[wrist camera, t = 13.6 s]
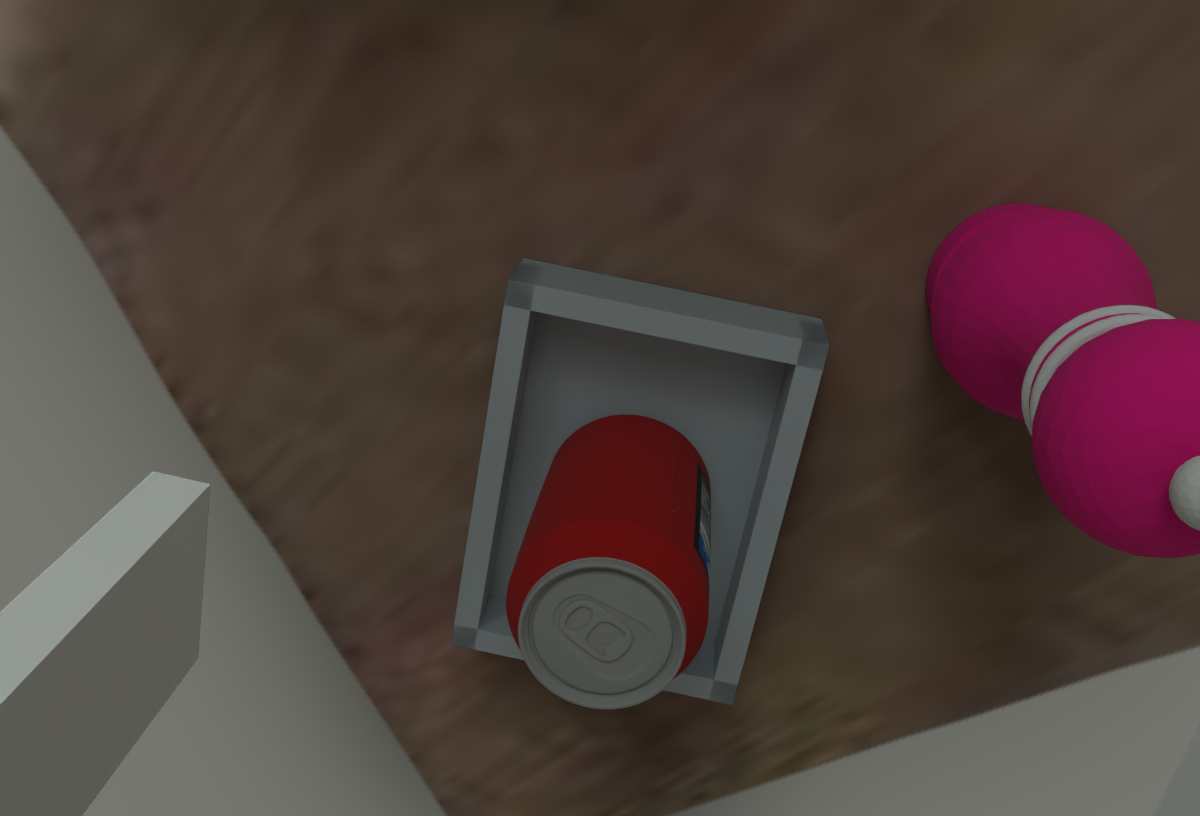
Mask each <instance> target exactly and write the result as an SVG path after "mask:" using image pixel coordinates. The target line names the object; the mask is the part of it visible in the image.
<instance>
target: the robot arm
mask: <svg viewBox="0 0 1200 816" xmlns="http://www.w3.org/2000/svg"><path fill="white" fill-rule="evenodd" d="M209 497H210V484H207V483H203V482H198V481H194V480H189V479H185V478H181V477H176V476H172V475H167V474H163V473H159V472H154V471H153V472H152V473H151V474H149V475H148V476H147V477H146V478H145V479H144V480H143V481H142V482H141V483H140V484H139V485H137V486H136V487H135V488H134V489H133V490H132V491H131V492H130V493H129V494H128V495H127V496H125V497H124V498H123V499H122V500H121V501H120V502H119V503H118V504H117V505H116V506H115V507H113V509H111V510H110V511H109V512H108V513H107V514H106V515H105V516H104V517H103V518H101V519H100V520H99V521H98V522H97V523H96V524H95V525H94V526H93V527H92V528H91V529H90V530H89V531H87V532H86V533H85V534H84V535H83V536H82V537H81V538H80V539H79V540H78V541H76V542H75V543H74V544H73V545H72V546H71V547H70V548H69V549H68V550H67V551H66V552H65V553H63V554H62V555H61V556H60V557H59V558H58V559H57V560H56V561H55V562H54V563H52V564H51V565H50V566H49V567H48V568H47V569H46V570H45V571H44V572H43V573H42V574H41V575H39V576H38V577H37V578H36V579H35V580H34V581H33V582H32V583H31V584H30V585H29V586H27V587H26V588H25V589H24V590H23V591H22V592H21V593H20V594H19V595H18V596H17V597H15V598H14V599H13V600H12V601H11V602H10V603H9V604H8V605H7V606H6V607H5V608H3V610H1V611H0V816H82V815H83V813H84V812H85V811H86V809H87V808H88V807H89V805H90V804H91V803H92V801H93V800H94V798H95V797H96V796H97V794H98V793H99V792H100V790H101V789H102V788H103V786H104V785H105V784H106V782H107V781H108V780H109V778H110V777H111V775H112V774H113V773H114V771H115V770H116V769H117V767H118V766H119V764H120V763H121V762H122V761H123V759H124V758H125V756H126V755H127V754H128V752H129V751H130V750H131V748H132V747H133V746H134V744H135V743H136V742H137V740H138V739H139V737H140V736H141V735H142V733H143V732H144V731H145V729H146V728H147V727H148V725H149V724H150V723H151V721H152V720H153V718H154V717H155V715H156V714H157V713H158V712H159V710H160V709H161V708H162V706H163V705H164V704H165V702H166V701H167V699H168V698H169V697H170V695H171V694H172V692H173V691H174V690H175V689H176V687H177V686H178V685H179V683H180V682H181V680H182V679H183V678H184V676H185V675H186V674H187V672H188V671H189V670H190V668H191V667H192V666H193V664H194V663H195V661H196V660H197V659H198V653H199V639H200V624H201V609H202V596H203V582H204V568H205V554H206V540H207V525H208V510H209ZM1153 816H1200V725H1199V727H1198V729H1197V731H1196V733H1195V735H1194V737H1193V739H1192V741H1191V743H1190V745H1189V746H1188V748H1187V750H1186V752H1185V754H1184V756H1183V758H1182V760H1181V762H1180V764H1179V766H1178V768H1177V770H1176V772H1175V774H1174V776H1173V778H1172V780H1171V782H1170V784H1169V786H1168V788H1167V790H1166V792H1165V794H1164V796H1163V798H1162V800H1161V802H1160V804H1159V806H1158V808H1157V810H1156V811H1155V813H1154V815H1153Z"/></svg>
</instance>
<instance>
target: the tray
mask: <svg viewBox="0 0 1200 816" xmlns="http://www.w3.org/2000/svg"><path fill="white" fill-rule="evenodd" d="M829 346H830V344H829V341H828V338H827V334H826V331H825V328H824V325H823V321H822V319H820V318H815V317H810V316H806V315H801V314H796V313H791V312H786V311H781V310H776V309H771V308H766V307H762V306H757V305H752V304H747V303H742V302H737V301H732V300H727V299H722V298H717V297H713V296H708V295H703V294H698V293H693V292H688V291H683V290H678V289H673V288H668V287H664V286H659V285H654V284H649V283H644V282H639V281H634V280H629V279H624V278H619V277H615V276H610V275H605V274H600V273H595V272H590V271H585V270H580V269H575V268H571V267H566V266H561V265H556V264H551V263H546V262H541V261H536V260H531V259H526V258H523V260H522V261H521V262H520V264H519V265H518V266H517V268H516V269H515V270H514V272H513V273H512V275H511V276H510V277H509V279H508V283H507V289H506V296H505V302H504V308H503V315H502V321H501V328H500V334H499V340H498V347H497V353H496V360H495V366H494V372H493V379H492V385H491V392H490V398H489V404H488V411H487V417H486V424H485V430H484V436H483V443H482V449H481V456H480V462H479V468H478V475H477V481H476V488H475V494H474V500H473V507H472V513H471V520H470V526H469V532H468V539H467V545H466V552H465V558H464V564H463V571H462V577H461V583H460V590H459V596H458V603H457V609H456V615H455V622H454V628H453V635H452V641H451V645H455V646H460V647H465V648H469V649H474V650H478V651H483V652H488V653H492V654H497V655H502V656H506V657H511V658H516V659H520V660H524V658H523V655H522V653H521V651H520V649H519V647H518V646H517V644H516V642H515V640H514V637H513V635H512V633H511V630H510V626H509V623H508V619H507V612H506V593H507V587H508V583H509V580H510V576H511V573H512V570H513V567H514V564H515V562H516V559H517V556H518V553H519V550H520V547H521V544H522V541H523V538H524V535H525V532H526V530H527V527H528V524H529V521H530V518H531V516H532V513H533V510H534V508H535V505H536V502H537V499H538V497H539V494H540V491H541V489H542V486H543V484H544V481H545V478H546V476H547V473H548V471H549V468H550V466H551V463H552V461H553V458H554V456H555V454H556V453H557V451H558V449H559V448H560V446H561V445H562V444H563V442H564V441H565V440H566V439H567V438H568V437H569V436H570V435H571V434H573V433H574V432H575V431H576V430H578V429H579V428H581V427H582V426H584V425H586V424H588V423H590V422H592V421H594V420H597V419H600V418H603V417H607V416H612V415H623V414H629V415H640V416H645V417H649V418H653V419H656V420H658V421H661V422H663V423H665V424H667V425H669V426H671V427H673V428H674V429H676V430H677V431H679V432H680V433H681V434H682V435H684V436H685V437H686V438H687V439H688V440H689V441H690V442H691V443H692V445H693V446H694V447H695V448H696V450H697V451H698V452H699V454H700V456H701V457H702V459H703V461H704V463H705V466H706V468H707V471H708V475H709V479H710V488H711V557H710V590H709V614H708V625H707V631H706V635H705V638H704V640H703V643H702V645H701V647H700V649H699V651H698V653H697V655H696V656H695V658H694V659H693V660H692V662H691V663H690V664H689V665H688V666H687V668H686V669H685V670H684V671H683V672H682V673H681V674H679V675H678V676H677V677H676V678H675V679H673V680H672V681H671V682H670V683H669V684H668V685H667V686H666V687H665V688H664V689H663V690H664V691H669V692H674V693H678V694H683V695H688V696H692V697H697V698H702V699H706V700H711V701H716V702H720V703H725V704H730V705H732V704H733V701H734V697H735V693H736V690H737V686H738V682H739V678H740V675H741V671H742V667H743V664H744V660H745V656H746V653H747V649H748V645H749V642H750V638H751V634H752V630H753V627H754V623H755V619H756V616H757V612H758V608H759V605H760V601H761V597H762V594H763V590H764V586H765V582H766V579H767V575H768V571H769V568H770V564H771V560H772V557H773V553H774V549H775V546H776V542H777V538H778V534H779V531H780V527H781V523H782V520H783V516H784V512H785V509H786V505H787V501H788V498H789V494H790V490H791V486H792V483H793V479H794V475H795V472H796V468H797V464H798V461H799V457H800V453H801V450H802V446H803V442H804V438H805V435H806V431H807V427H808V424H809V420H810V416H811V413H812V409H813V405H814V402H815V398H816V394H817V390H818V387H819V383H820V379H821V376H822V372H823V368H824V365H825V361H826V357H827V354H828V350H829Z"/></svg>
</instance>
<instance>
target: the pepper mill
mask: <svg viewBox="0 0 1200 816" xmlns="http://www.w3.org/2000/svg"><path fill="white" fill-rule="evenodd" d="M926 299H927V305H928V309H929V312H930V315H931V331H932V337H933V342H934V345H935V348H936V351H937V354H938V357H939V358H940V360H941V362H942V364H943V366H944V368H945V369H946V371H947V372H948V373H949V374H950V376H951V377H952V378H953V379H954V381H955V382H956V383H957V384H958V385H959V386H960V387H961V388H962V389H963V390H964V391H965V392H966V393H967V394H969V395H970V396H971V397H972V398H973V399H974V400H976V401H978V402H979V403H981V404H982V405H984V406H986V407H987V408H989V409H991V410H994V411H996V412H999V413H1001V414H1004V415H1006V416H1009V417H1013V418H1016V419H1020V420H1024V421H1025V424H1026V426H1027V428H1028V430H1029V433H1030V435H1031V436H1032V440H1031V444H1032V451H1033V458H1034V464H1035V466H1036V469H1037V472H1038V474H1039V477H1040V479H1041V482H1042V485H1043V487H1044V489H1045V491H1046V492H1047V494H1048V495H1049V497H1050V498H1051V500H1052V501H1053V503H1054V504H1055V505H1056V507H1057V508H1058V509H1059V510H1060V512H1061V513H1062V514H1063V515H1064V516H1065V517H1066V518H1067V519H1068V520H1069V521H1070V522H1071V523H1072V524H1073V525H1074V526H1076V527H1077V528H1079V529H1080V530H1082V531H1083V532H1084V533H1086V534H1087V535H1089V536H1090V537H1092V538H1093V539H1095V540H1097V541H1099V542H1101V543H1103V544H1105V545H1107V546H1109V547H1111V548H1114V549H1117V550H1121V551H1124V552H1127V553H1130V554H1133V555H1138V556H1146V557H1163V558H1176V557H1183V556H1190V555H1195V554H1199V553H1200V322H1197V321H1191V320H1186V319H1176V318H1174V317H1172V316H1171V315H1169V314H1166V313H1164V312H1161V311H1159V310H1157V306H1156V300H1155V295H1154V290H1153V285H1152V281H1151V279H1150V276H1149V274H1148V272H1147V270H1146V267H1145V265H1144V263H1143V262H1142V260H1141V259H1140V258H1139V256H1138V255H1137V253H1136V252H1135V250H1134V249H1133V248H1132V247H1131V246H1130V245H1129V244H1128V243H1127V242H1126V241H1125V240H1124V239H1122V238H1121V237H1120V236H1119V235H1118V234H1117V233H1116V232H1115V231H1114V230H1113V229H1112V228H1110V227H1108V226H1107V225H1105V224H1103V223H1101V222H1099V221H1098V220H1096V219H1094V218H1092V217H1089V216H1086V215H1082V214H1079V213H1076V212H1073V211H1067V210H1057V209H1049V208H1047V207H1043V206H1039V205H1035V204H1027V203H1010V204H1003V205H998V206H995V207H991V208H988V209H985V210H983V211H981V212H978V213H976V214H975V215H973V216H971V217H969V218H967V219H966V220H965V221H963V222H962V223H961V224H959V225H958V226H957V227H956V228H955V229H954V230H953V231H952V232H951V233H950V234H949V235H948V236H947V237H946V238H945V240H944V241H943V242H942V243H941V245H940V247H939V248H938V250H937V251H936V253H935V255H934V257H933V259H932V262H931V265H930V268H929V271H928V276H927V283H926Z"/></svg>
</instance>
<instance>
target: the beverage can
mask: <svg viewBox="0 0 1200 816" xmlns="http://www.w3.org/2000/svg"><path fill="white" fill-rule="evenodd" d="M710 557H711V488H710V479H709V475H708V471H707V468H706V466H705V463H704V461H703V459H702V457H701V456H700V454H699V452H698V451H697V450H696V448H695V447H694V446H693V445H692V443H691V442H690V441H689V440H688V439H687V438H686V437H685V436H684V435H682V434H681V433H680V432H679V431H677V430H676V429H674V428H673V427H671V426H669V425H667V424H665V423H663V422H661V421H658V420H656V419H653V418H649V417H645V416H640V415H629V414H623V415H612V416H607V417H603V418H600V419H597V420H594V421H592V422H590V423H588V424H586V425H584V426H582V427H581V428H579V429H578V430H576V431H575V432H574V433H573V434H571V435H570V436H569V437H568V438H567V439H566V440H565V441H564V442H563V444H562V445H561V446H560V448H559V449H558V451H557V453H556V454H555V456H554V458H553V461H552V463H551V466H550V468H549V471H548V473H547V476H546V478H545V481H544V484H543V486H542V489H541V491H540V494H539V497H538V499H537V502H536V505H535V508H534V510H533V513H532V516H531V518H530V521H529V524H528V527H527V530H526V532H525V535H524V538H523V541H522V544H521V547H520V550H519V553H518V556H517V559H516V562H515V564H514V567H513V570H512V573H511V576H510V580H509V583H508V587H507V593H506V612H507V619H508V623H509V626H510V630H511V633H512V635H513V637H514V640H515V642H516V644H517V646H518V647H519V649H520V651H521V653H522V655H523V658H524V660H525V662H526V664H527V666H528V667H529V669H530V671H531V672H532V674H533V675H534V676H535V677H536V678H537V680H538V681H539V682H540V683H541V684H542V685H543V686H545V687H546V688H547V689H548V690H550V691H551V692H552V693H554V694H555V695H557V696H559V697H560V698H562V699H564V700H566V701H569V702H571V703H574V704H576V705H580V706H583V707H588V708H594V709H620V708H626V707H630V706H634V705H637V704H640V703H642V702H644V701H647V700H648V699H650V698H652V697H654V696H655V695H657V694H658V693H659V692H661V691H662V690H663V689H664V688H665V687H666V686H667V685H668V684H669V683H670V682H671V681H672V680H673V679H675V678H676V677H677V676H678V675H679V674H681V673H682V672H683V671H684V670H685V669H686V668H687V666H688V665H689V664H690V663H691V662H692V660H693V659H694V658H695V656H696V655H697V653H698V651H699V649H700V647H701V645H702V643H703V640H704V638H705V635H706V631H707V625H708V614H709V590H710Z"/></svg>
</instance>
